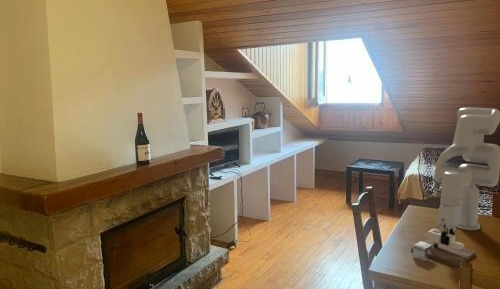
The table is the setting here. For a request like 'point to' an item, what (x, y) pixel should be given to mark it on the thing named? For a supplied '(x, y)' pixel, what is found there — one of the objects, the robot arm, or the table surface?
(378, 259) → the table surface
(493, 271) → the table surface
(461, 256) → the board
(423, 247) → the block
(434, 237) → the link
